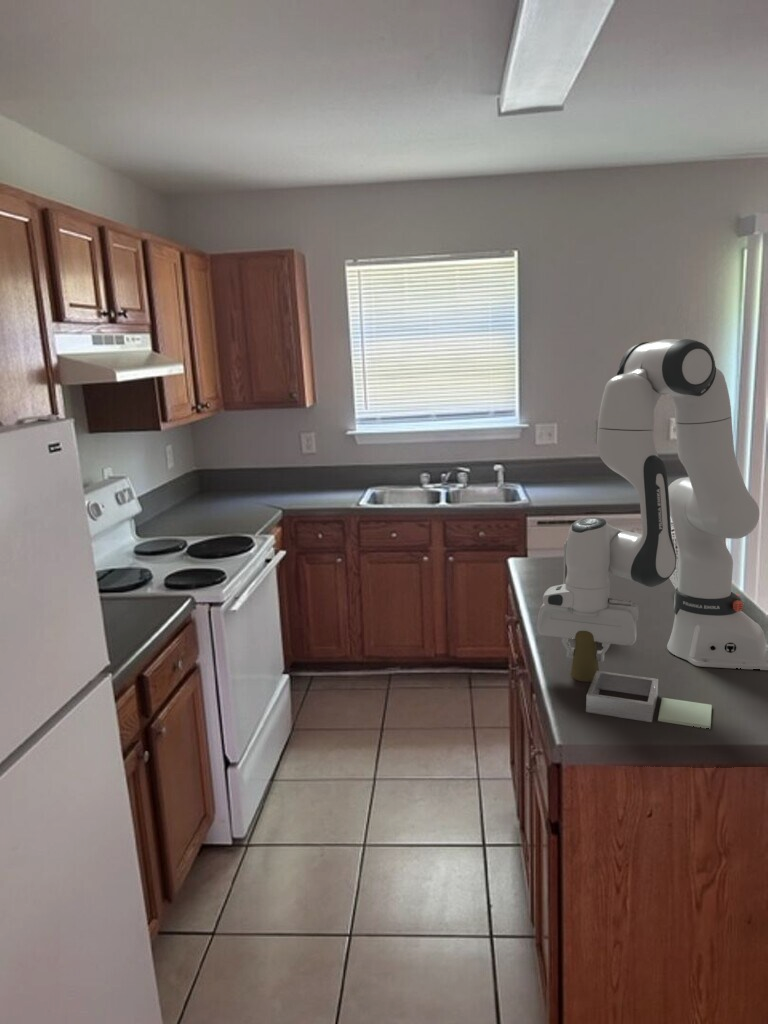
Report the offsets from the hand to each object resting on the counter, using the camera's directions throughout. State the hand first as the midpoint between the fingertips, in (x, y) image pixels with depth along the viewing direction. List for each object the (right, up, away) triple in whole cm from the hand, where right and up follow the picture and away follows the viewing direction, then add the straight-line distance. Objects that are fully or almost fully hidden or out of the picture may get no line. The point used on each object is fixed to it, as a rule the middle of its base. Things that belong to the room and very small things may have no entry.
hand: (585, 658), depth 162 cm
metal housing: (+4, -7, -12) cm, 14 cm away
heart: (+40, +8, +49) cm, 63 cm away
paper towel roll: (+6, +3, +33) cm, 33 cm away
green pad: (+14, -7, -17) cm, 24 cm away
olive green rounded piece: (0, -4, +1) cm, 4 cm away
